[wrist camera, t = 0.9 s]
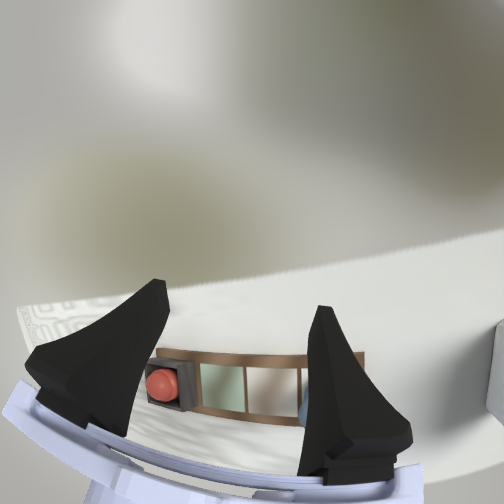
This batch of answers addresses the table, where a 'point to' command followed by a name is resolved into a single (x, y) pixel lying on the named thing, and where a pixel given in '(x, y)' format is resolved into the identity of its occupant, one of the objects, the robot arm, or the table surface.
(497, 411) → the photo printer
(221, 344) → the table surface
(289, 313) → the table surface
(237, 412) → the game board
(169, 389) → the dome
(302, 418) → the pawn
